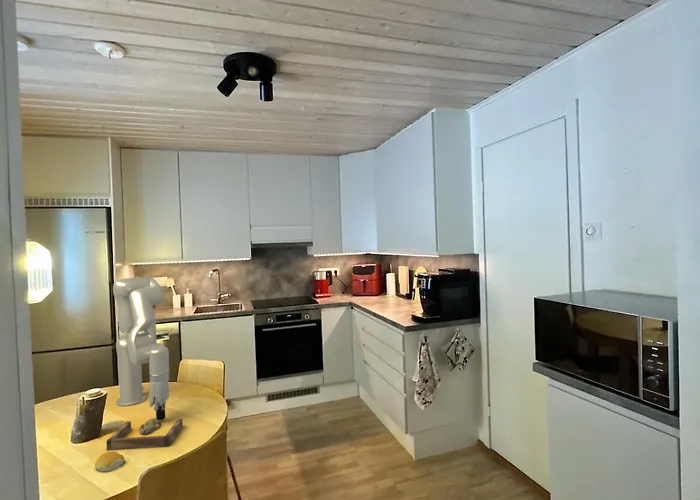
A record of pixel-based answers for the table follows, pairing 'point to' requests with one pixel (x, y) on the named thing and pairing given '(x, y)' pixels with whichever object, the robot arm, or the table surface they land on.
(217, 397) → the table surface
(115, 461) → the bread roll
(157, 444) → the dark wooden frame
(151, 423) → the mineral rock
